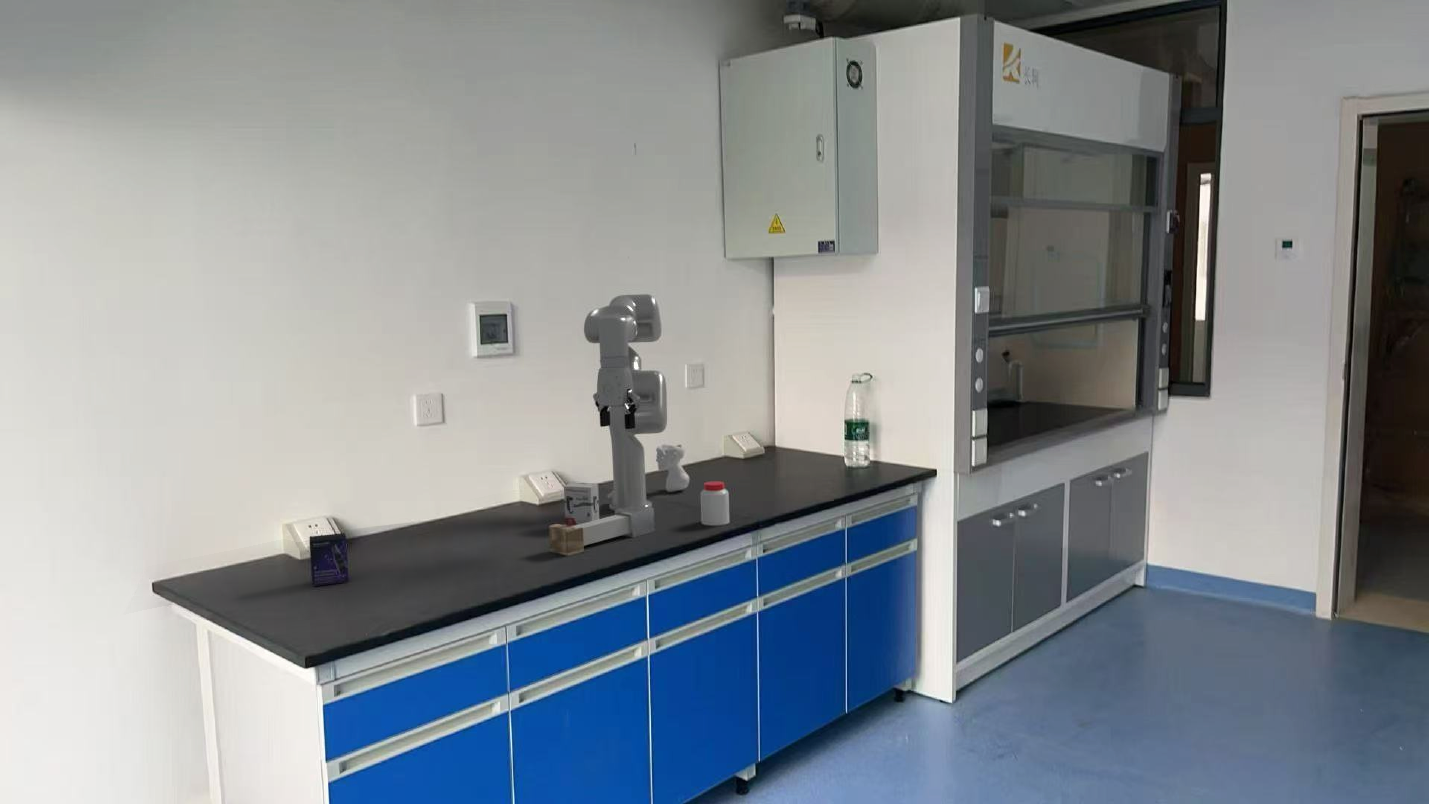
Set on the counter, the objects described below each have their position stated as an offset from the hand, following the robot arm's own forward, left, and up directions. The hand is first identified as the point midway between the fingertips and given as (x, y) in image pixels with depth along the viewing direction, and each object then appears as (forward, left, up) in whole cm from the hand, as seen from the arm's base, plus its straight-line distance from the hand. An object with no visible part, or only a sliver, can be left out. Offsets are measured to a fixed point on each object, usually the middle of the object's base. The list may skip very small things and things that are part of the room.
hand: (617, 427), depth 268 cm
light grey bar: (+4, -12, -28) cm, 31 cm away
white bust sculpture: (-26, +46, -28) cm, 60 cm away
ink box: (-14, -2, -29) cm, 32 cm away
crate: (+4, -23, -28) cm, 36 cm away
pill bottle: (+14, +22, -28) cm, 39 cm away
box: (-21, -72, -29) cm, 80 cm away
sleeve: (+4, +1, -28) cm, 29 cm away
